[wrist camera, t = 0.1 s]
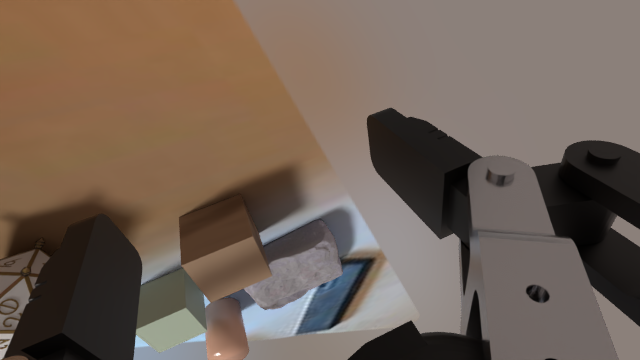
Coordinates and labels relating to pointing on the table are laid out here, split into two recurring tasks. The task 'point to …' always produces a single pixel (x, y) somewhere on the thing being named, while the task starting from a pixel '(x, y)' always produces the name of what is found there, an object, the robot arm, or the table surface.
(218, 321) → the terracotta cylinder
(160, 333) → the sage cube
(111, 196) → the table surface
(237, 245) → the walnut cube
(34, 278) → the white knobbed polyhedron
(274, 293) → the stone block
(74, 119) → the table surface
